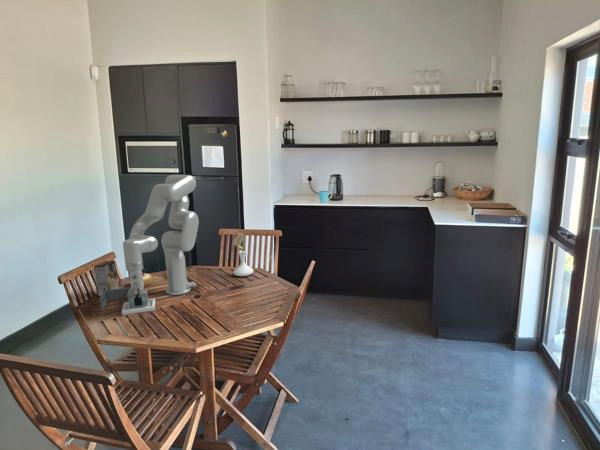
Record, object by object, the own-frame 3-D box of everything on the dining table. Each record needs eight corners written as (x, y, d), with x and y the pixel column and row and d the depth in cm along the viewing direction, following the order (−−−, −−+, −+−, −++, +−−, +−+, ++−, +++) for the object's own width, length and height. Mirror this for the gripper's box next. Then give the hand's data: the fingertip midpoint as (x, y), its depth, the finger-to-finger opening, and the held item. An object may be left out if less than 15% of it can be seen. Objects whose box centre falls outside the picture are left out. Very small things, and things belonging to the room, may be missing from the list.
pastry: (125, 288, 241) (123, 272, 239) (141, 281, 252) (138, 266, 250) (143, 289, 236) (140, 273, 235) (158, 282, 247) (155, 266, 245)
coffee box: (108, 289, 239) (104, 260, 235) (119, 290, 237) (115, 260, 234) (97, 295, 230) (93, 265, 227) (109, 296, 228) (104, 266, 225)
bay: (133, 296, 227) (131, 286, 226) (130, 305, 214) (129, 295, 213) (104, 300, 223) (103, 290, 222) (100, 309, 210) (99, 299, 209)
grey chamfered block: (148, 301, 213) (146, 289, 212) (147, 305, 208) (146, 293, 207) (130, 304, 211) (128, 292, 209) (129, 308, 206) (127, 295, 205)
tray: (155, 302, 217) (155, 298, 217) (154, 311, 206) (154, 306, 205) (124, 306, 213) (124, 302, 213) (122, 315, 202) (121, 311, 202)
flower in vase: (232, 273, 258) (229, 230, 253) (252, 270, 260) (249, 228, 255) (234, 279, 245) (231, 235, 240) (255, 277, 248) (252, 233, 243)
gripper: (141, 269, 198) (146, 308, 202) (143, 260, 214) (148, 296, 218) (123, 272, 196) (128, 311, 200) (127, 261, 213) (132, 298, 216)
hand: (139, 302), depth 209 cm, fingers closed on grey chamfered block, 5 cm apart
